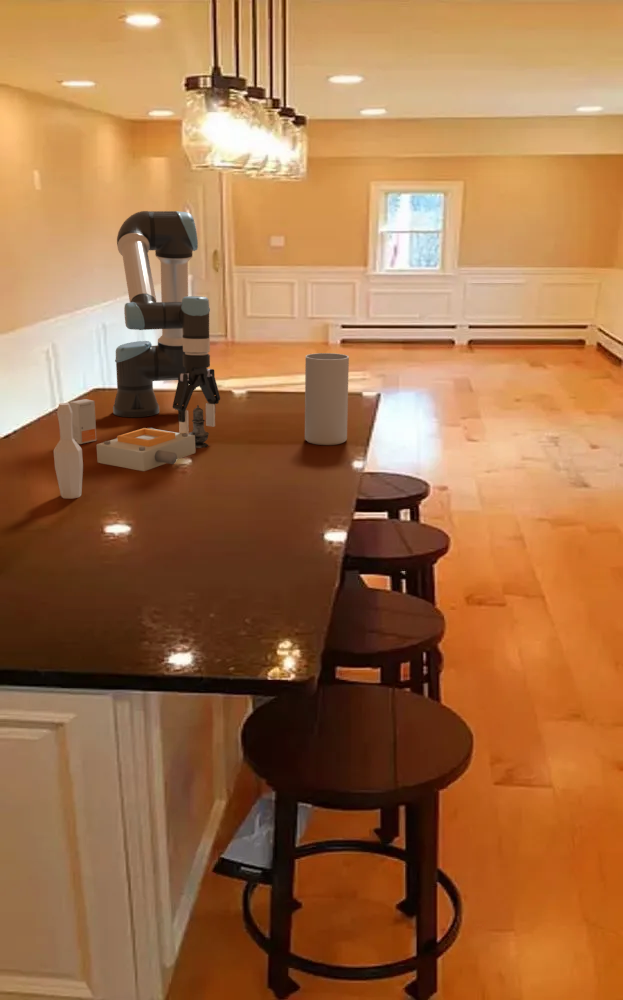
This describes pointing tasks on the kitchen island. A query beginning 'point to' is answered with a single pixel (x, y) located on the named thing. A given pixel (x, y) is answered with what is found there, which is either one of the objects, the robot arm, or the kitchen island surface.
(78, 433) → the skincare box
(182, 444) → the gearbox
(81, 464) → the low poly bottle
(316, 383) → the cylinder vase
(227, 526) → the kitchen island surface
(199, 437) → the chess piece
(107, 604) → the kitchen island surface
